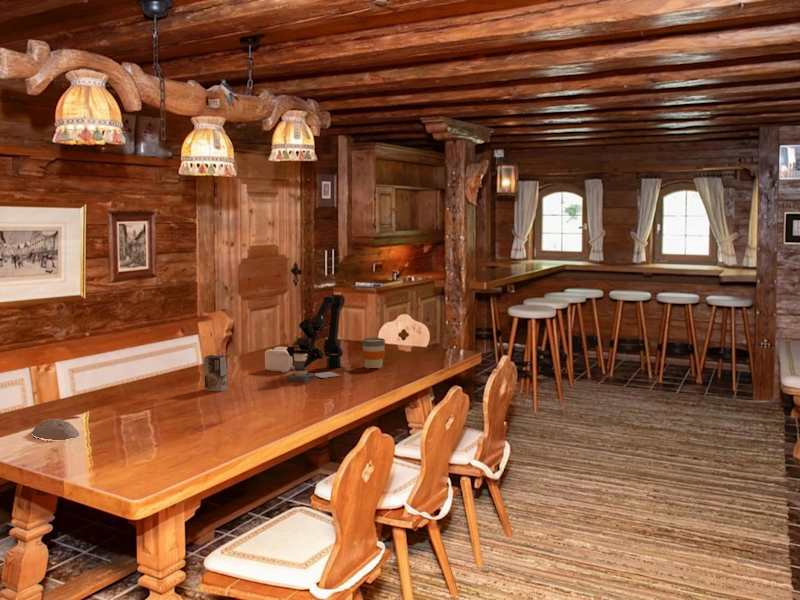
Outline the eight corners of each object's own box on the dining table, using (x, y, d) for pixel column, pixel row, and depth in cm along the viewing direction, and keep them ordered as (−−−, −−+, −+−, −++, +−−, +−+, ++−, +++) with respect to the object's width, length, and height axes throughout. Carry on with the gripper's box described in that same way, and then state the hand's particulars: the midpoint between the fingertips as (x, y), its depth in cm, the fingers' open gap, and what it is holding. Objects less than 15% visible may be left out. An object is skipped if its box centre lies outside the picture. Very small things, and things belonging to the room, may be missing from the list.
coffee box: (228, 389, 370) (227, 355, 368) (221, 391, 364) (220, 357, 362) (211, 387, 373) (210, 354, 371) (204, 390, 367) (203, 356, 365)
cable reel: (303, 377, 395) (303, 352, 393) (309, 380, 389) (309, 354, 388) (291, 379, 391) (291, 353, 390) (297, 381, 386) (297, 355, 384)
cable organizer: (299, 369, 416) (298, 348, 415) (287, 373, 406) (287, 351, 405) (275, 367, 422) (275, 346, 421) (264, 371, 413) (263, 349, 412)
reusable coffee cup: (358, 368, 418) (358, 340, 417) (368, 364, 430) (367, 337, 428) (379, 370, 414) (379, 342, 412) (389, 365, 425) (388, 338, 424)
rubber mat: (330, 372, 407) (330, 371, 407) (340, 376, 398) (340, 375, 398) (311, 375, 401) (311, 373, 401) (321, 378, 392) (321, 377, 392)
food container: (61, 423, 309) (59, 407, 307) (90, 438, 292) (88, 422, 290) (21, 435, 298) (18, 419, 296) (49, 452, 281) (46, 434, 279)
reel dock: (297, 376, 397) (297, 372, 397) (315, 378, 393) (315, 373, 393) (286, 380, 388) (286, 375, 387) (304, 382, 383) (304, 377, 383)
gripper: (287, 330, 395) (276, 355, 386) (320, 332, 388) (309, 358, 379) (296, 343, 403) (285, 368, 394) (328, 345, 396) (317, 371, 387)
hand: (299, 366), depth 388 cm, fingers closed on cable reel, 6 cm apart
